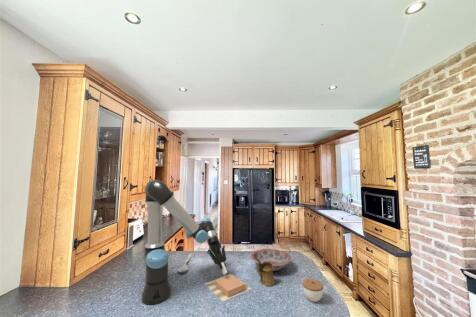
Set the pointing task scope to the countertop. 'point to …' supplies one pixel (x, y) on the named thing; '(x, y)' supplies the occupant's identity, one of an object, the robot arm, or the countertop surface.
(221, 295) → the cream cloth
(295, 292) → the countertop surface
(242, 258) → the countertop surface
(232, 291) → the ceramic tile
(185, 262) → the spoon
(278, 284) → the countertop surface
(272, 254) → the ceramic bowl
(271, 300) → the countertop surface
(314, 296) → the lidded jar
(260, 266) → the wooden mug
